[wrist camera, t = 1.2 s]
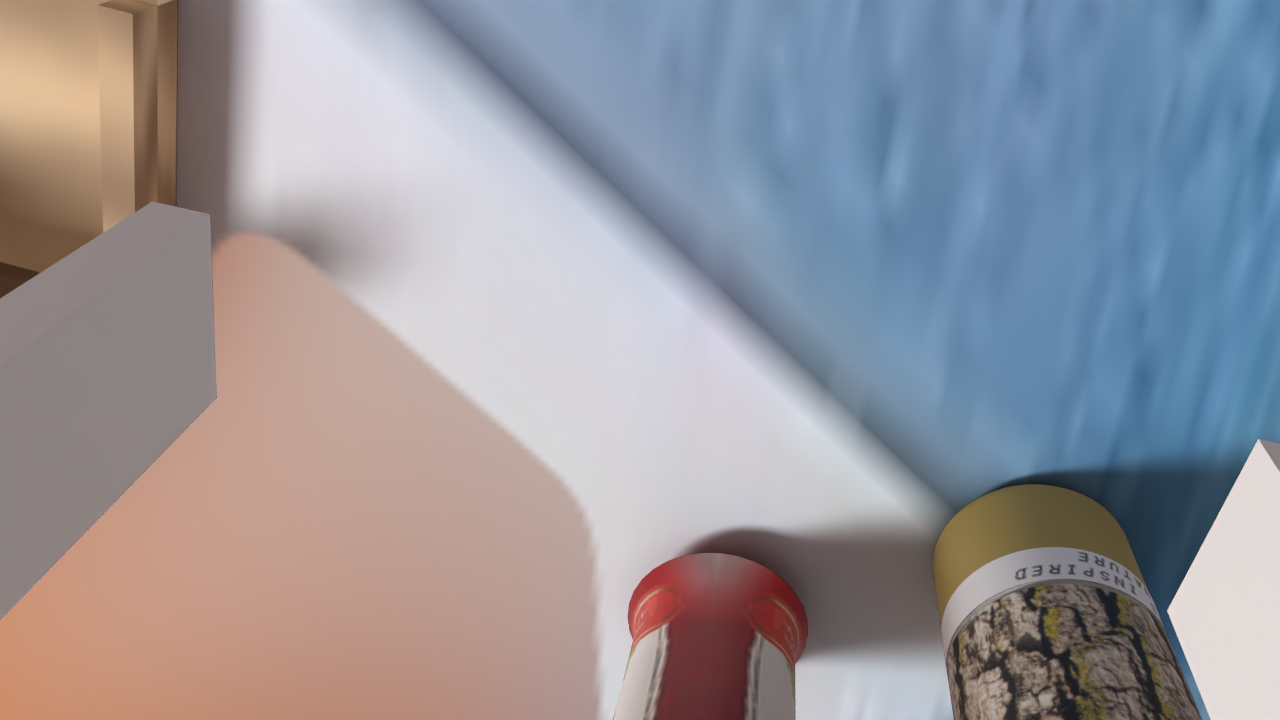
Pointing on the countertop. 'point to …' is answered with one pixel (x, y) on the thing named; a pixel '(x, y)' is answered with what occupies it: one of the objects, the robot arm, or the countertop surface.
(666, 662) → the liquor
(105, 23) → the cradle
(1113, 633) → the paper tube
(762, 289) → the countertop surface
